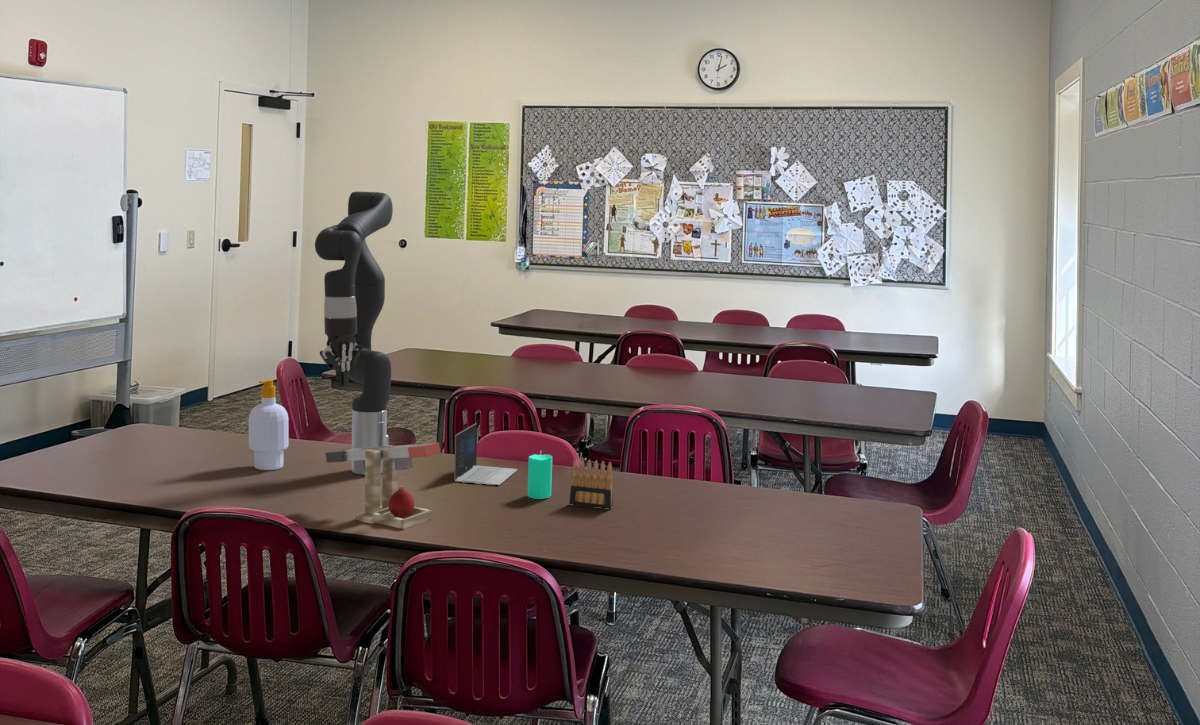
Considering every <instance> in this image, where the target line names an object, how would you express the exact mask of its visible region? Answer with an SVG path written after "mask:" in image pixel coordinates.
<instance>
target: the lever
mask: <svg viewBox="0 0 1200 725" xmlns="http://www.w3.org/2000/svg"><path fill="white" fill-rule="evenodd" d="M370 449H372V450H378V451H381V459H389V458H394V464H395V470H398V471H405V470H409V469H411V468H413V467H414V466H413V460H412V459H413V458H427V457H432V456H434V455H438V454H441V446H440V442H439V441H438V442H426V443H425V442H423V443H419V444H418V443H417V444H402V445H392V446H385V447H369V448H352V447H351V448H349V447H348V448H340V449H339V448H338V449H333V450H331V451H326V452H325V460H326V463H343V462H350V461H351V462H352V461H354V463H355V470H356V472H365V451H366V450H370Z"/></svg>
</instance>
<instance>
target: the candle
mask: <svg viewBox="0 0 1200 725" xmlns="http://www.w3.org/2000/svg"><path fill="white" fill-rule="evenodd" d="M527 469H528V471H527V497H528V496H529V497H530V498H534V499H544V498H549V497H550V496H551V497H552V481H553V480H552V478H553V456H552V455H551V454H542V450H540V453H539V454H532V455H529V456H528V468H527ZM529 497H528V498H529ZM530 498H529V499H530ZM534 499H533V500H534Z"/></svg>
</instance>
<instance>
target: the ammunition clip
mask: <svg viewBox="0 0 1200 725" xmlns="http://www.w3.org/2000/svg"><path fill="white" fill-rule="evenodd" d="M586 463H587V464H586V469H585V461H584V459H583V458H581V460H580V465H578V459H577V458H576V457H575V458H574V459H573V464H572V471H571V472H572V473H571V479H570V480H571V483H570V489H569V491H570V492H569V504H573V505H580V506H579V507H581V506H588V507H587V508H590V507H601V508H609V509H611V506H612V507H614V505H613V466H612V462H611V461H609V462H608V464H607V468H606V464H605V461H604V460H602V461H601V464H600V468H599V464H598V460H597V459H596V460H595V461H594V463H593V471H592V462H591V459H588V461H587V462H586ZM578 466H579V468H578ZM599 469H600V470H599ZM578 470H579V472H578ZM585 470H586V471H585ZM599 471H600V472H599ZM585 472H586V473H585ZM569 504H568V505H569ZM611 510H612V509H611Z"/></svg>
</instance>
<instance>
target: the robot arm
mask: <svg viewBox="0 0 1200 725" xmlns="http://www.w3.org/2000/svg"><path fill="white" fill-rule="evenodd" d="M347 202H348V203H347V216H346V217H344V218H343V219H342V220H341V221H340V222H339V223H338V224H334V225H331V226H329V227H326V228H324V229H322V230H321V231H320V232H319V233H318V234H317V235H316V238H315V241H314V249H315V253H316V254H317V256H318V257H319V258H321V259H322V260H325V261H343V262H344V264H343V266H342V267H341V268H339V269H335V270H330V271H327V272H326V273H324V280H323V281H324V303H323V311H324V312H323V314H324V315H323V316H324V318H323V319H324V320H323V321H324V323H323V324H324V334H325V335H326V336H327V341H326V347H325V349H323V350H320V351H319V355H320V357H321V358H322V360H323V361H324V363H325V365H326V366H327V367H328V369H329V370H333V371H335V383H336V386H337V387H340V388H344V387H348V386H349V382H350V381H349V379H350V380H351V381H352V382H355V383H358V384H363V386H362V387H363V388H362V394H361V395H359V396H356V397H354V398H353V399H352V402H351V448H369V447H383V446H385V445H390V444H389V443H390V437H389V435H388V434H387V433H388V432H387V429H388V426H387V424H388V420H387V418H388V415H387V414H388V412H387V411H388V402H389V401H390V396H391V384H392V364H391V361H390V357H389V356H388V355H387V354H386V353H384V352H382V351H377V350H372V333H373V329H374V326H375V324H376V322H377V320H378V317H379V315H380V314H381V312H382V309H383V307H384V304H385V300H386V293H385V291H386V288H385V287H386V278H385V275H384V272H383V270H382V268H381V267H380V264H378V262H377V259H376V258H375V257H374V256H373V254H372V253H371V251H370V249H369V247H368V243H367V241H366V238H368V237H369V236H370V235H373V233H376V232H378V231H379V230H381V229H384V228H386V227H387V226H388V225H389V224H390V223H391V221H392V218H393V211H394V207H393V202H392V198H391V196H389V194H387V193H385V192H379V191H378V192H377V191H375V192H374V191H353V192H351V193H350V195H349V198H348V201H347ZM382 468H383V459H381V471H380V475H381V474H382ZM351 472H352V473H353V474H355V475H360V476H361V475H362V476H365V472H356V470H355V463H354V461H351Z"/></svg>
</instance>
